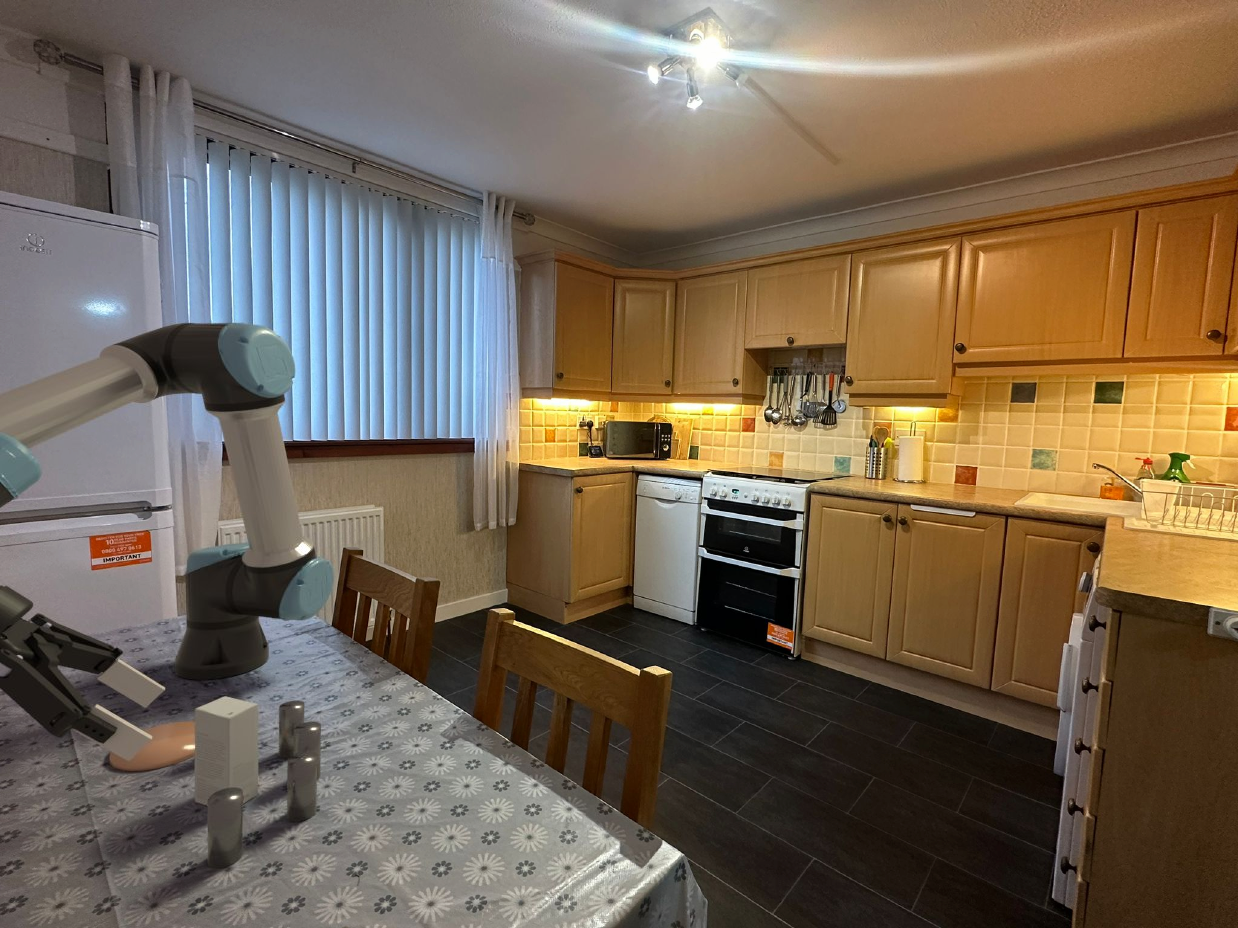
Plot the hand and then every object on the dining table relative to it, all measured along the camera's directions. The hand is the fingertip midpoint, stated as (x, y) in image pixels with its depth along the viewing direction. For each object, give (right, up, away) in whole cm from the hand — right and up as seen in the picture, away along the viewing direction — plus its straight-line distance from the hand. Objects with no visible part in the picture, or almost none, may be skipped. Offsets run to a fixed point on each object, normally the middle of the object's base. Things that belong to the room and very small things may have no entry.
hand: (149, 721), depth 70 cm
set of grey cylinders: (+7, -12, +7) cm, 15 cm away
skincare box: (+6, -12, +5) cm, 14 cm away
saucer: (-11, -11, +16) cm, 22 cm away
